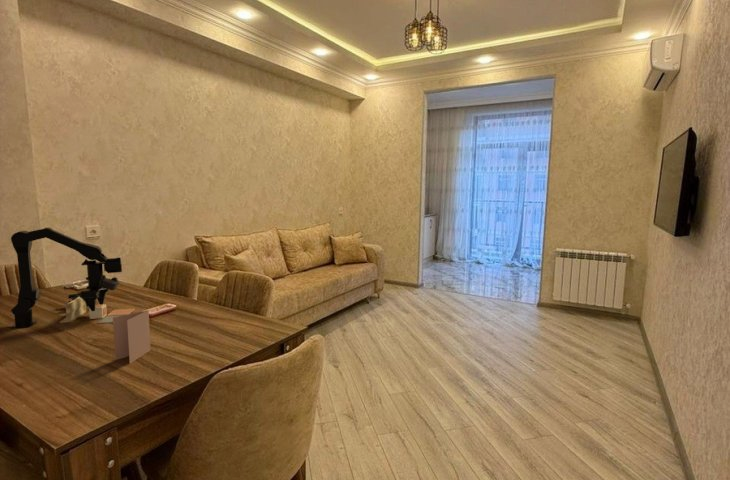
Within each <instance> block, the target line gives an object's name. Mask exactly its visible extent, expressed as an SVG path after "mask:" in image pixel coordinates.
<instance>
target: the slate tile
mask: <svg viewBox="0 0 730 480" xmlns="http://www.w3.org/2000/svg"><path fill="white" fill-rule="evenodd" d="M120 316H123V315H120ZM113 317H118V316H107V315H106V316H105V317H103V318H101V319H100V320H99V321H98V322H97V324H99V325H100V324H113Z"/></svg>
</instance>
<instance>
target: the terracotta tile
mask: <svg viewBox="0 0 730 480" xmlns="http://www.w3.org/2000/svg"><path fill="white" fill-rule="evenodd" d="M135 310H136V308H123V309H122V308H121V309H113V310H112V311H111V312H110V313H108V314H107V315H106V316H120V315H127V314H132V313H134V311H135Z"/></svg>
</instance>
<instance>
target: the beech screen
mask: <svg viewBox="0 0 730 480" xmlns="http://www.w3.org/2000/svg"><path fill="white" fill-rule="evenodd" d="M70 301H71V302H69V301H68V302H67V303H65V315H66V317H65V318H64V319H62V320H60V321H59V323H60V324H67V323H72V322H74V321H76V319H78V318H79V317H81V316H82V315H84V314H85V313H86V312H87V311H88V310H87V307H86V302H85V301H84V300H83V299H82V298H80V296H79V297H78V298H76V299H74V300H73V301H72V300H70Z"/></svg>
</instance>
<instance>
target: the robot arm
mask: <svg viewBox="0 0 730 480" xmlns="http://www.w3.org/2000/svg"><path fill="white" fill-rule="evenodd" d="M41 239H49V240H51V241H53V242H56V243H58V244H59V245H62V246H65V247H68V248H70V249H72V250H75V251H76V252H78V253H79V254H80V255H82V256H83V257H85V260H84V261H83V262H81V266H86V269H87V270H86V272H87V276H86V277H85V280H86V281H87V285H88V286H86V289H84V290H81V291H80V292H81V293H80V298H82V299H83V300H84V301H85V302H86V304H87V305H88V309H89V308H90V309H91V311H95V306H96V305H97V304H96V303H97V301H98V303H99V304H98V305H102V304H104V302H105V298H106V294H107V293H108V292H109V291H115V290H117V287H118V285H119V280H118V277H116V276H113V277H112V278H107V277H106V275H105V274H104V272H106V273H107V274H116V273H117V274H118V273H123V265H122V264H123V263H122V260H121V259H122V257H114V258H110V257H109V258H108V257H107V256H106V255H105V254H104V253H103V250H102V248H101V247H100V246H99V245H96V244H92V243H91V244H90V243H85V242H82V241H80V240H77V239H75V238H73V237H71V236H68V235H65V234H64V233H61V232H59V231H57V230H55V229H53V228H52V227H45V228H40V229H36V230H31V231H28V230H20V231H17V232H15V233H13V234H12V235H11V237H10V241H11V243H12V247H13V249H14V252H15V253H16V256H17V267H18V276H19V287H20V288H19V292H18V295H17V296H18V297H17V304H15V305H14V306H13V307H12V309H10V312H11V313H12V314H13V315H14V324H13V325H12V326H10V328H11V329H17V328H30V327H31V326H33V325H35V324H37V323H38V321H37V320H34V318H33V317H34V316H33V309H32V308H33V307H34V306H35V305H36V304H37V303H38V301H39V299H40V298H41V297H42V296H41V295H40V287H38V288H36V287H35V286H34V285H35V284H34V281H33V279H34V278H33V277H34V276H33V268H32V257H31V251H32V246H33V241H38V240H41ZM103 269H104V270H103Z"/></svg>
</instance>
